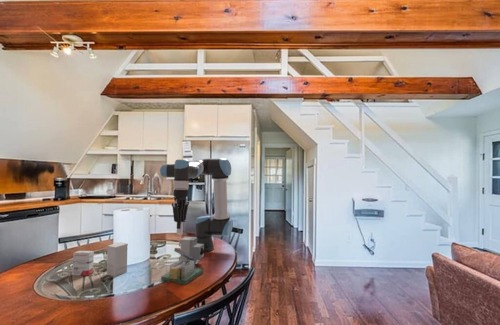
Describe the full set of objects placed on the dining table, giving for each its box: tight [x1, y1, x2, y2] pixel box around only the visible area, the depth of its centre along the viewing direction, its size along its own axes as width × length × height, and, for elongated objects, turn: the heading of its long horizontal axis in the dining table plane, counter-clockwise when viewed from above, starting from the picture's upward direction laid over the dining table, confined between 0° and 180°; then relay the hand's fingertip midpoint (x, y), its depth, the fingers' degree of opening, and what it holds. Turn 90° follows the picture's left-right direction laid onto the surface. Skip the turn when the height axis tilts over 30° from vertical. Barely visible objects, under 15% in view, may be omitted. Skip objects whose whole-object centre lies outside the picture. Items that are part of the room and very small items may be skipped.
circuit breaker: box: [178, 236, 206, 264], centre depth 171 cm, size 8×14×15 cm, turn 78°
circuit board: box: [160, 259, 204, 286], centre depth 150 cm, size 18×14×7 cm
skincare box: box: [106, 241, 129, 278], centre depth 153 cm, size 8×7×16 cm
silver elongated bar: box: [174, 247, 194, 260], centre depth 151 cm, size 16×4×2 cm, turn 161°
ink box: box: [72, 250, 95, 277], centre depth 152 cm, size 8×5×12 cm, turn 89°
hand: (179, 234), depth 149 cm, fingers closed
